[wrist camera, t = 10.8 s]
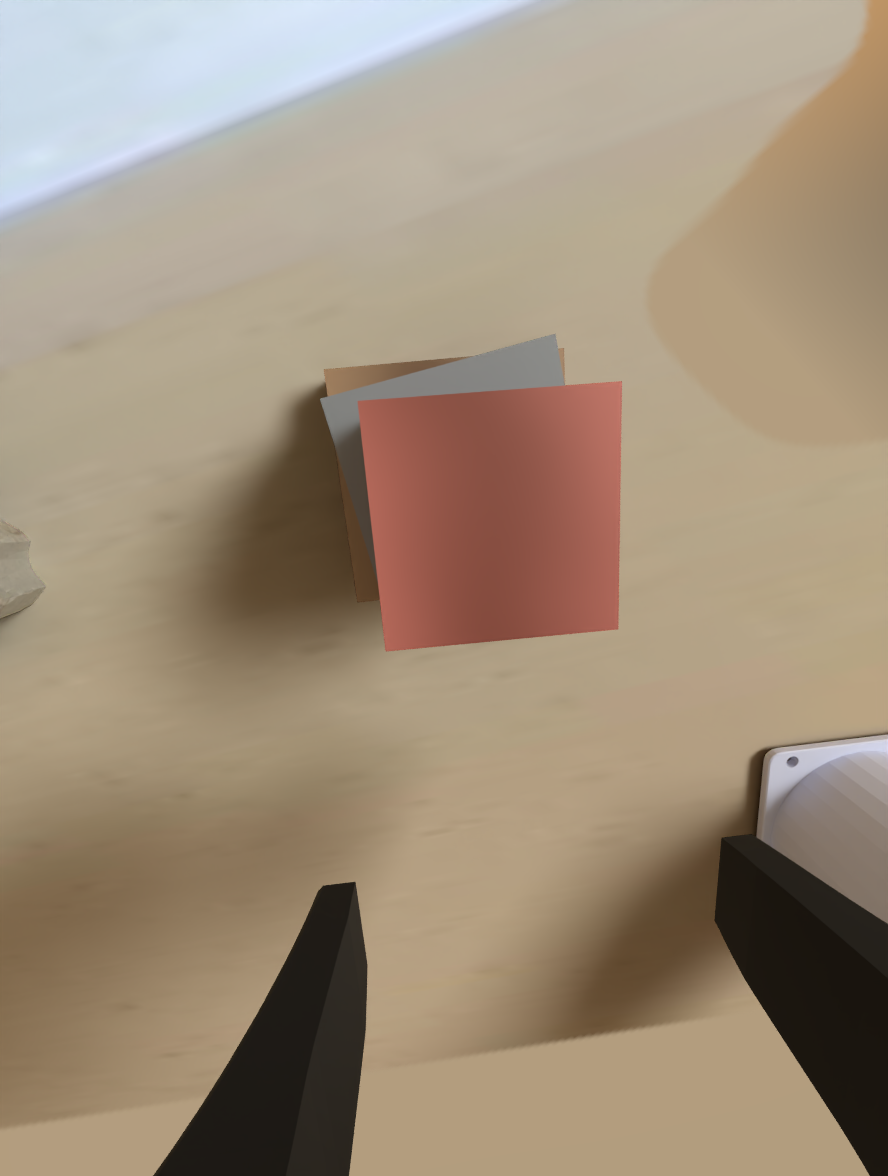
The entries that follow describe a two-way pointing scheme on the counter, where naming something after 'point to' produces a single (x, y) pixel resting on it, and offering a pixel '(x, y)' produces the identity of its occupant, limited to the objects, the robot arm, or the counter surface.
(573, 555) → the cube
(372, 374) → the walnut block
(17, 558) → the egg carton
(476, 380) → the slate block
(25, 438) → the counter surface
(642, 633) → the counter surface
